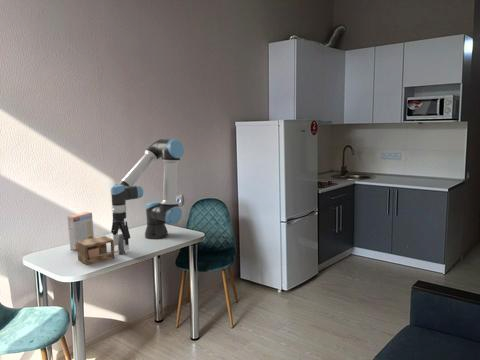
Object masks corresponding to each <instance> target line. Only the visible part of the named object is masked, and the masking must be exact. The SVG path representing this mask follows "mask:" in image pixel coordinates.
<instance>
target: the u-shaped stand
mask: <svg viewBox="0 0 480 360" xmlns="http://www.w3.org/2000/svg"><path fill="white" fill-rule="evenodd" d="M123 239H124V237H123V234H122V233H118V245H117V247H118V249H117V250H114V254H116V253H118V255H124V254H125V252H126V251H124V241H123ZM87 254H88V259H91V258H96V257H100V256H104V255H109V254H111V251H107V253H102V254H99V248H98V247H96V246H91V247H87Z"/></svg>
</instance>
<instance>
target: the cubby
mask: <svg viewBox="0 0 480 360" xmlns="http://www.w3.org/2000/svg"><path fill="white" fill-rule="evenodd" d="M107 244H110V252H111V254H108V255H104V256H99V257H96V258H91V259H88V254H87V247H91V246H96V247H98V248H99V254H102V253H107V252H108V251H107ZM114 251H115V246H114V240H113V238H110V237H108V236H106V235H103V236H97V237H94V238H92V239H87V240H82V241H77V259H78V261H79V262H81V263H82V264H84V265H85V266H87V265H91V264H96V263H100V262H103V261H108V260H112V259H115V253H114Z"/></svg>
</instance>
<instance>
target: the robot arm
mask: <svg viewBox="0 0 480 360" xmlns="http://www.w3.org/2000/svg"><path fill="white" fill-rule="evenodd" d="M184 153H185V147H184V144H183V143H182V142H181V141H180V140H179V139H174V138H172V139H171V138H169V139H168V138H166V139H165V138H161V139H158V140H156V141H154V142H152V144H151V145H150V146H148V147H147V148H146V150H145V151H144V155H142V156H141V158H140V159H139V160H138V161H137V162H136V163H135V164H134V165H133V167H132V168H131V169H130V170H129V171H128V172H127V174H126V175H125V176H124V177H123V178H122V179H121V180H120V181H119V182H118V183H117V184H113V185H112V186H111V187H110V194H111V210H112V225H111V228H110V229H111V230H110V232H111V234H112V239H113V240H114V247H115V246H118V235H119V230H120V231H121V234H123V237H124V239H123V241H124V251H125V252H126V251H129V250H130V244H129V239H131V234H130V231H129V230H130V229H129V226H128V221H125V219H126V218H127V204H126V202H127V201H130V200H131V201H132V200H137V199H141V198H143V196H144V189H143V187H142V186H141V185H135V184H136V183H137V182H138V181H139V180H140V178H141V177H142V176H143V175H144V174H145V173H146V171H148V169H149V168H150V167H151V166H152V164H154V162H157V161H158V160H160V158H161V161H162V162H163V181H162V182H163V186H162V187H163V189H162V200H161V201H153V202H147V204H146V205H145V206H146V207H145V211H146V213H145V215H146V228H145V231H144V238H145V239H150V240H157V239H163V238H166V236H167V237H168V236H169V232H168V229H167V226H166V224H167V225H175V224H176V225H177V224H178V223H179V221H180V220H181V218H182V215H183V211H182V209H181V208H180V207H179V206H180V205H179V201H178V200H177V193H178V192H177V191H178V190H177V188H178V163H179V162H180V161H181V158H183V155H184Z"/></svg>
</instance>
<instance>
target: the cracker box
mask: <svg viewBox="0 0 480 360" xmlns="http://www.w3.org/2000/svg"><path fill="white" fill-rule="evenodd" d="M66 217H67V218H66V219H67V227H68V238H69V247H70V249H69V250H71V251H77V252H78V250H77V241H82V240H87V239H92V238H95V233H94V223H93V222H94V221H93V212H91V211H84V212H80V213H77V214H72V215H68V216H66Z"/></svg>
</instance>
